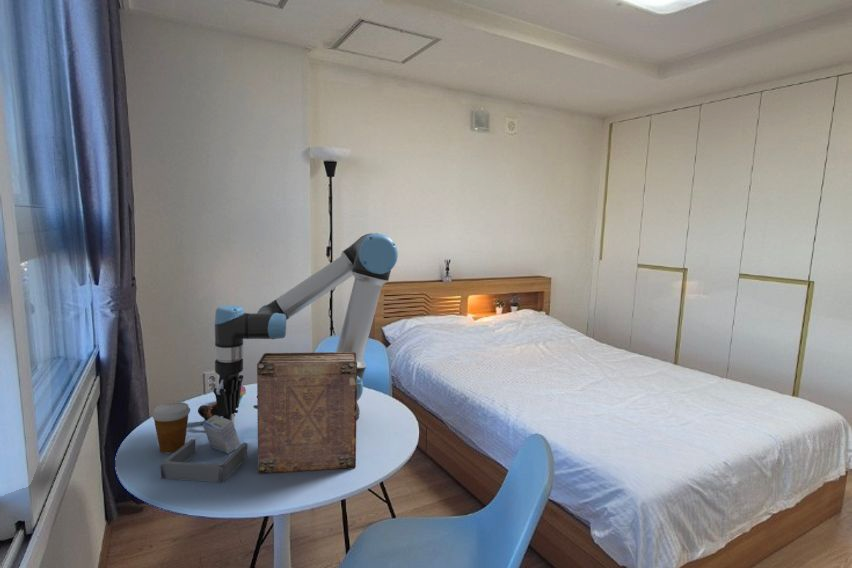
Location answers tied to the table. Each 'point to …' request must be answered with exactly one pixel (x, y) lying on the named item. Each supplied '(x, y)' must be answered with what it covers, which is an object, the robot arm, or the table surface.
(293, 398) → the book
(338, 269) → the robot arm
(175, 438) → the disposable coffee cup
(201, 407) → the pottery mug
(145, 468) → the table surface
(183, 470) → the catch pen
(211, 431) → the medicine box
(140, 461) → the table surface
